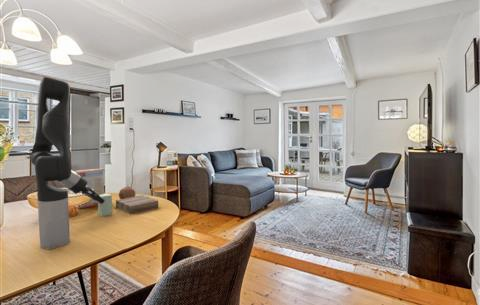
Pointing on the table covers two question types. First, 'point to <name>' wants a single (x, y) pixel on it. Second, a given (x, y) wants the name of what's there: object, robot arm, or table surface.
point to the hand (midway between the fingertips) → (100, 200)
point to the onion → (126, 193)
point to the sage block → (105, 205)
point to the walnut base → (136, 204)
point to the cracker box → (92, 184)
